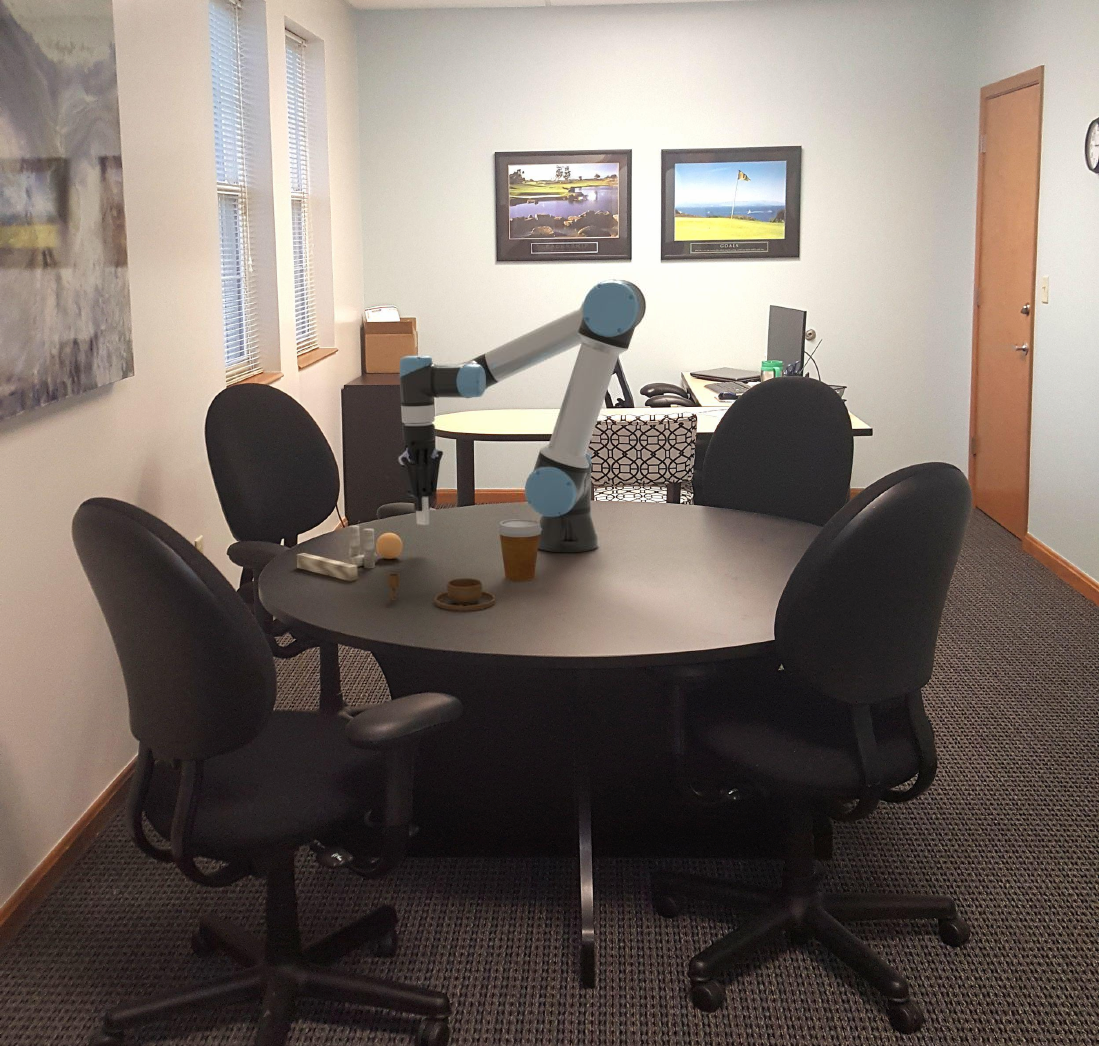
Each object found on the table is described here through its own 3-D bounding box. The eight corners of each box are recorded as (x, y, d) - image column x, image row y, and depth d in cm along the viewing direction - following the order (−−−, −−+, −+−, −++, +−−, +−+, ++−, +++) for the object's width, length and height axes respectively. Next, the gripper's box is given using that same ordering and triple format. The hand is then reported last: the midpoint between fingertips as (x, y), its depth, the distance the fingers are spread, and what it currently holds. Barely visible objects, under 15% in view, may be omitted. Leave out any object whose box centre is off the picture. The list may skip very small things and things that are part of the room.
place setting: (457, 621, 225) (456, 591, 224) (382, 604, 237) (381, 575, 236) (515, 602, 239) (515, 573, 238) (441, 586, 251) (440, 559, 250)
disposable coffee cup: (536, 584, 250) (536, 528, 247) (492, 582, 252) (492, 526, 249) (546, 573, 259) (546, 519, 256) (503, 571, 261) (503, 517, 258)
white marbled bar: (357, 579, 253) (357, 565, 253) (350, 581, 252) (349, 567, 251) (304, 566, 265) (304, 552, 264) (297, 567, 263) (296, 554, 263)
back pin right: (362, 563, 267) (361, 526, 266) (354, 565, 266) (353, 528, 264) (355, 561, 269) (354, 524, 267) (347, 563, 267) (346, 526, 265)
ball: (385, 552, 266) (398, 566, 271) (398, 530, 268) (411, 544, 273) (366, 547, 270) (380, 560, 274) (379, 525, 272) (392, 539, 276)
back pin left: (377, 566, 264) (376, 529, 263) (369, 568, 263) (367, 531, 261) (370, 565, 266) (369, 528, 264) (361, 567, 264) (360, 529, 262)
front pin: (377, 552, 267) (347, 559, 261) (378, 563, 268) (348, 570, 261) (370, 551, 269) (340, 558, 263) (371, 562, 269) (341, 569, 263)
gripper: (427, 419, 280) (432, 517, 285) (386, 425, 271) (391, 526, 275) (450, 421, 275) (454, 521, 280) (408, 427, 266) (413, 530, 270)
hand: (423, 523), depth 278 cm, fingers closed
